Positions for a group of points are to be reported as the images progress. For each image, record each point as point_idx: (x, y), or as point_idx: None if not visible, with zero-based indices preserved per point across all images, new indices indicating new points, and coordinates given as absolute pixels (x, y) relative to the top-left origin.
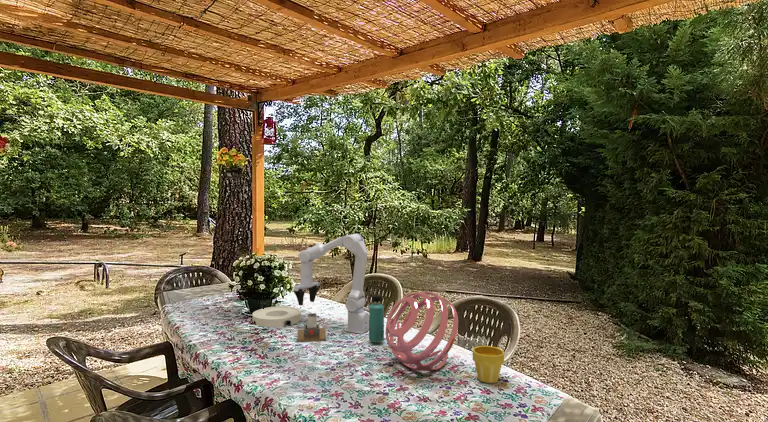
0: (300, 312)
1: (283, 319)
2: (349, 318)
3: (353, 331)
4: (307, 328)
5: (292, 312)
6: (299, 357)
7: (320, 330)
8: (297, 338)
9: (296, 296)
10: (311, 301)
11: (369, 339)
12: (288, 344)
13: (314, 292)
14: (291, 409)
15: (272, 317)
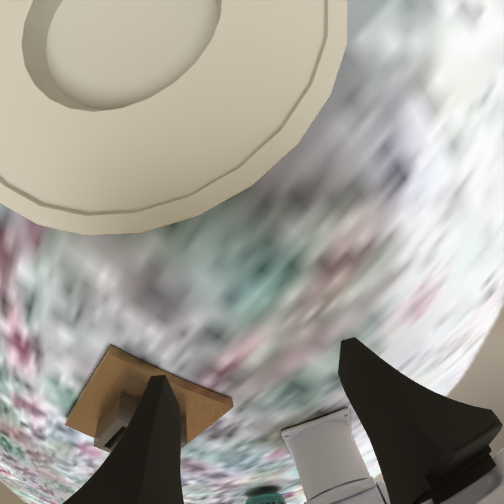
0: (281, 158)
1: (56, 225)
2: (302, 480)
3: (290, 450)
4: (111, 447)
5: (242, 75)
6: (51, 463)
7: (195, 415)
8: (68, 419)
9: (110, 457)
10: (340, 359)
11: (248, 500)
12: (35, 411)
13: (383, 465)
14: (23, 499)
15: (18, 111)
